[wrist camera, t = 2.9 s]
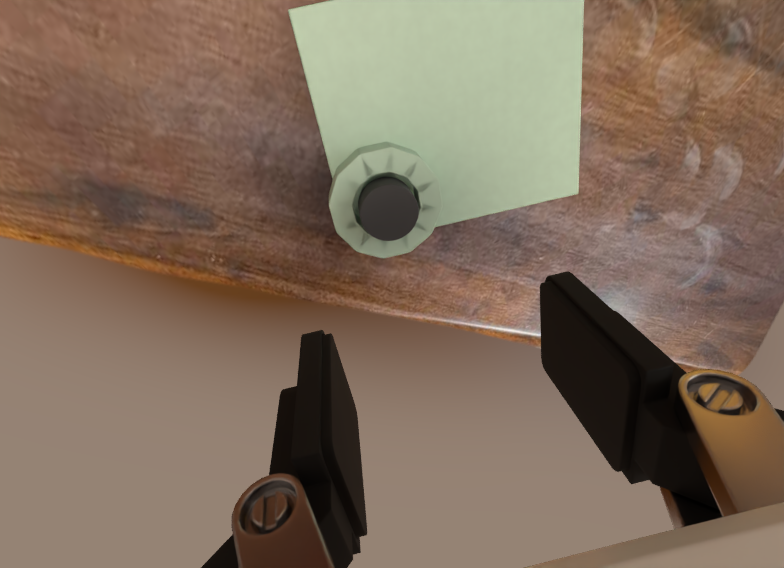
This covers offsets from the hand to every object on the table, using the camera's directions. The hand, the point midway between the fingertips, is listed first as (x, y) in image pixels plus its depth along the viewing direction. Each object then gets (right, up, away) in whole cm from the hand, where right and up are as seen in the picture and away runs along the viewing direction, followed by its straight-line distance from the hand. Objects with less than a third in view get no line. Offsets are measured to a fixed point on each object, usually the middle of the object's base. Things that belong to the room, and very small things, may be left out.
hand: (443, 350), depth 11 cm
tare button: (-2, +6, +11) cm, 13 cm away
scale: (+2, +11, +12) cm, 17 cm away
